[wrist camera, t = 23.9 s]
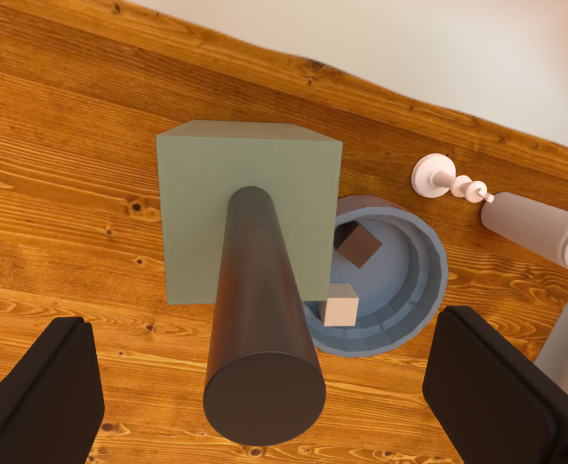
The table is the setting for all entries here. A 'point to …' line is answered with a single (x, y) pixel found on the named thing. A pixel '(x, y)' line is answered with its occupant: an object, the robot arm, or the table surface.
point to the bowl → (384, 280)
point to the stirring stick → (259, 334)
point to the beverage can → (529, 225)
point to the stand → (233, 176)
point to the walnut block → (355, 243)
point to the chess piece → (445, 180)
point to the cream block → (339, 306)
